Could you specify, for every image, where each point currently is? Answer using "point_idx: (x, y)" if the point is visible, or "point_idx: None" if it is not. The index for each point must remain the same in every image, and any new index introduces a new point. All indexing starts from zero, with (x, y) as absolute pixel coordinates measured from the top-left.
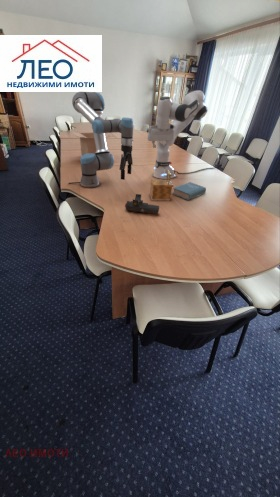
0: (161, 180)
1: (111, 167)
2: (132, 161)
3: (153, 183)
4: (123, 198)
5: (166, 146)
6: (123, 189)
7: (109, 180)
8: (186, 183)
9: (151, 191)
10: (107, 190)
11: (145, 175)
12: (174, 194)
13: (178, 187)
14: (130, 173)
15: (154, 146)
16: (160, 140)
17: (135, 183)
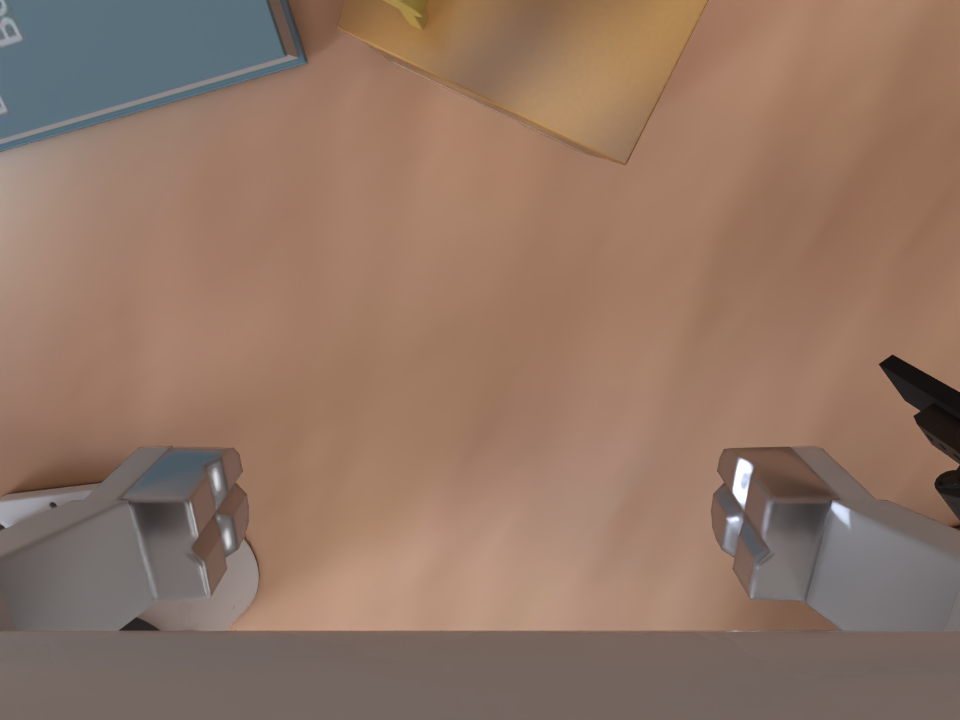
0: (486, 87)
1: None
2: (953, 494)
3: (695, 8)
4: (907, 186)
5: (147, 450)
6: (753, 394)
7: (734, 620)
8: (4, 131)
9: None
10: (906, 426)
11: (329, 625)
12: (295, 29)
13: (201, 39)
14: (901, 362)
15: (831, 467)
16: (619, 633)
17: (546, 486)
